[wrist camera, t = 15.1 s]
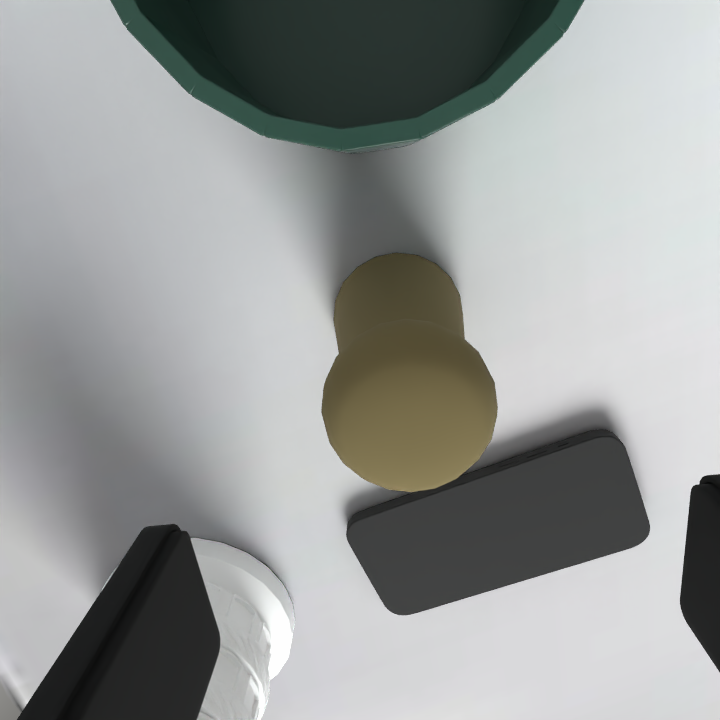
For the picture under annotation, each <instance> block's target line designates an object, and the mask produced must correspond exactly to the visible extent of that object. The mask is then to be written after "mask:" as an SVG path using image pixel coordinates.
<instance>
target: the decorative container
mask: <svg viewBox="0 0 720 720" xmlns="http://www.w3.org/2000/svg"><path fill="white" fill-rule="evenodd" d="M190 539H191V542H192V545H193V549H194V552H195V555H196V558H197V562H198V565H199V568H200V571H201V574H202V578H203V581H204V584H205V587H206V591H207V594H208V597H209V600H210V603H211V607H212V610H213V613H214V616H215V620H216V623H217V626H218V629H219V633H220V651H219V655H218V658H217V661H216V664H215V667H214V670H213V673H212V676H211V679H210V682H209V685H208V688H207V691H206V694H205V697H204V700H203V703H202V706H201V709H200V712H199V715H198V718H197V720H260V719H261V718H262V715H263V713H264V710H265V708H266V706H267V702H268V698H269V693H270V680H271V679H272V678H273V677H274V676H276V675H277V674H278V673H279V671H280V670H281V668H282V667H283V665H284V663H285V662H286V660H287V659H288V656H289V651H290V647H291V642H292V637H293V631H294V626H295V617H294V610H293V603H292V601H291V599H290V597H289V595H288V593H287V591H286V589H285V587H284V585H283V583H282V582H281V581H280V580H279V579H278V578H277V577H276V576H275V574H274V573H273V572H272V571H271V570H270V569H269V568H268V567H267V566H266V565H264V564H263V563H261V562H260V561H258V560H257V559H255V558H254V557H252V556H251V555H250V554H248V553H246V552H244V551H241V550H239V549H237V548H234V547H232V546H229V545H227V544H224V543H221V542H216V541H210V540H205V539H200V538H190ZM118 566H119V565H118ZM118 566H117V567H118ZM117 567H116V568H115V569H114V571H113V572H112V574H111V575H110V577H109V578H108V580H107V581H106V583H105V585H106V584H107V582H108V581H109V579H110V578H111V576H112V575H113V573H114V572H115V570H116V569H117ZM105 585H104V586H103V588H104V587H105ZM103 588H102V590H103Z"/></svg>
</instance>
